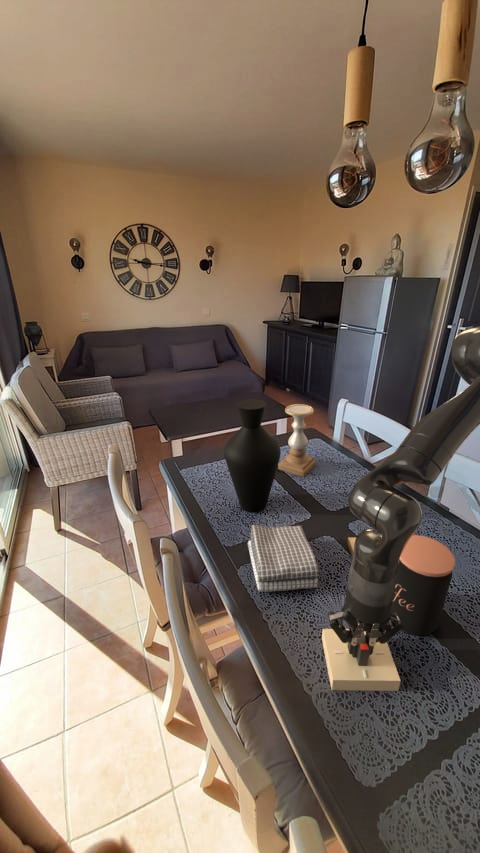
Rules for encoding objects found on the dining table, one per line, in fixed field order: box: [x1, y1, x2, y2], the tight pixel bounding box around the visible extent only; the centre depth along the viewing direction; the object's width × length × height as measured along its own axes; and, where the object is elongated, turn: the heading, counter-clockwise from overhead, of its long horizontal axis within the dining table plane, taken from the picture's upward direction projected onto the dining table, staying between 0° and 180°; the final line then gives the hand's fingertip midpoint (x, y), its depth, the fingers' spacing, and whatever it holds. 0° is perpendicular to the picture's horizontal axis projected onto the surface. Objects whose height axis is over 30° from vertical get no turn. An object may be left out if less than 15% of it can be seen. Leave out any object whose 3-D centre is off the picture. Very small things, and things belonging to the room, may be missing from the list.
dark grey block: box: [356, 632, 369, 666], centre depth 68 cm, size 5×2×4 cm, turn 178°
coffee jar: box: [390, 534, 456, 637], centre depth 75 cm, size 11×11×18 cm
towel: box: [247, 524, 320, 593], centre depth 92 cm, size 15×18×8 cm
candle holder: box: [277, 403, 317, 478], centre depth 134 cm, size 11×11×24 cm
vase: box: [223, 398, 282, 514], centre depth 110 cm, size 17×17×35 cm
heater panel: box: [321, 628, 401, 692], centre depth 69 cm, size 12×10×3 cm
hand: (359, 652), depth 69 cm, fingers closed on dark grey block
